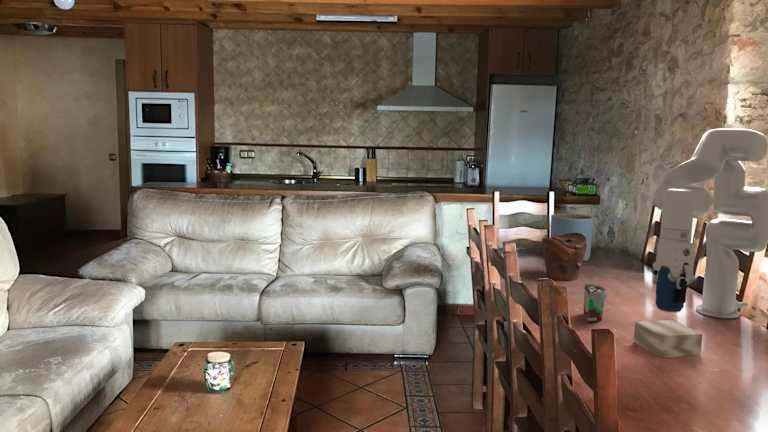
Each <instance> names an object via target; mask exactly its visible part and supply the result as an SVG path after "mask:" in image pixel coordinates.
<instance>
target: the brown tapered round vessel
mask: <svg viewBox="0 0 768 432" xmlns="http://www.w3.org/2000/svg"><path fill="white" fill-rule="evenodd" d="M540 247H541V248H542V252H543V254H542V255H543V260H544V267H545V275H546V277H547V278H549V279H552V280H558V281H559V280H560V281H574V280H578V278H579V277H580V274H581V270H582V267H583V262H584V260H583V259H584V255H585V252H586V250H587V239H586V237H585V236H584V235H582V234H580V233H567V234H563V235H559V236H555V237H552V238H551V237H543V238H542V239H541V244H540Z"/></svg>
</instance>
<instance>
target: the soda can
mask: <svg viewBox="0 0 768 432" xmlns="http://www.w3.org/2000/svg"><path fill="white" fill-rule="evenodd" d="M680 277H684V275H683V274H680ZM682 281H683V279H680V283H681V282H682ZM656 285H657V292H656V291H655V305H656V307H657V308H658V310H660V311H662V312H666V313H680V312H681V311H682V310H683V308H684V306H685V303H674V290H675V288H677V287H676V283H675V278H674V277H672V274H671V272H670V268H666V267H663V266H662V265H661V268H660V270H659V271H658V281H656Z"/></svg>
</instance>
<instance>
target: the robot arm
mask: <svg viewBox="0 0 768 432" xmlns="http://www.w3.org/2000/svg"><path fill="white" fill-rule="evenodd" d="M767 154H768V138H767V137H766V135H765V134H763V133H762V132H759V131H756V130H754V129H749V128H714V129H710V130H708V131H706V132H704V134H703V135H702V137H701V139H700V140H699V143H698V145H697V146H696V148H695V151H694V152H693V154H692V157H691V158H690V159H689V160H686V161H684V162H683V163H680V164H679V165H677V166H675V167H673V168H672V169H671V170H669V171H668V172H666V174H664V176H663V177H662V179H661V181H660V183H659V185H658V186H657V189H656V191H655V195H654V204H655V207H656V209H658V210H659V211H661V221H660V223H661V224H660V234H659V241H658V243H657V248H656V249H657V250H656V255H655V261H654V262H653V263H652V268H653V270H654V272H653V273H654V274H655V281H656V282H657V281H658V271H659V270H660V268H661V265H662V266H663V267H666V268H670V272H671V274H672V277H674V278H675V283H676V287H677V288H675V290H674V303H684V304H685V303H686V300H687V290H688V289H689V287H690V286H691V285H692V283H693V282H694V280H695V279H696V278H695V275H694V263H695V262H694V261H695V259H694V257H695V256H694V245H693V242H692V234H693V233H692V231H693V221H694V215H697V216H700V215H704V214H705V213H708V212H709V211H710V209H711V208H712V207H713V210H714V212H716V213H717V214H720V215H723V216H733V217H741V218H749V219H750V220H751V221H749V220H742V219H741V220H740V219H731V218H714V219H712V220H710V221H708V222H707V224H706V227H705V233H704V234H705V243H706V251H705V253H706V257H705V268H704V277H703V278H704V279H703V287H702V288H703V289H702V301H701V304H698V305H697V306H696V308H695V309H696V311H697V313H699V314H701V315H704V316H708V317H713V318H718V319H737V318H739V317H740V314H741V313H740V311H739V310H738V309H740V308H741V309H744V308H745V309H747V308H748V306H749V303H748V302H747V301H740V302H739V300H737V299H736V298H737V287H738V278H739V268H740V263H739V262H740V261H739V259H738V257H737V255H736V254H735V252H734V251H735V250H737V251H743V252H750V253H751V252H753V253H759V252H763V251H764V250H765V249H766V248H767V245H768V190H767V189H765V188H763V187H762V188H761V187H753V186H751V187H750V186H746V169H745V166H744V165H743V164H742V162H754V163H756V162H757V163H758V162H761V161H763V160H764V158H765V157H766V156H767ZM713 179H714V181H713V183H714V184H713V195H712V192H711V191H710V190H708V189H707V188H703V187H699V186H698V187H697V186H688V185H694V184H698V183H702V182H706V181H709V180H713ZM680 274H683V275H684V277H680ZM680 279H683V281H682V282H681V283H680ZM655 287H656V288H655V293H656V292H657V284H656V285H655Z"/></svg>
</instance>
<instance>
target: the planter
mask: <svg viewBox="0 0 768 432" xmlns="http://www.w3.org/2000/svg"><path fill="white" fill-rule="evenodd" d="M594 218H595V217H594V216H592V215H587V214H581V213H580V214H578V213H553V214H551V216H550V238H552V237H555V236H559V235H563V234H567V233H580V234H582V235H584V236H585V237H586V239H587V250H586V252H585V255H584V259H583V262H584V261H586V262H589V259H590V257H591V249H592V240H593V230H594Z"/></svg>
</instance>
